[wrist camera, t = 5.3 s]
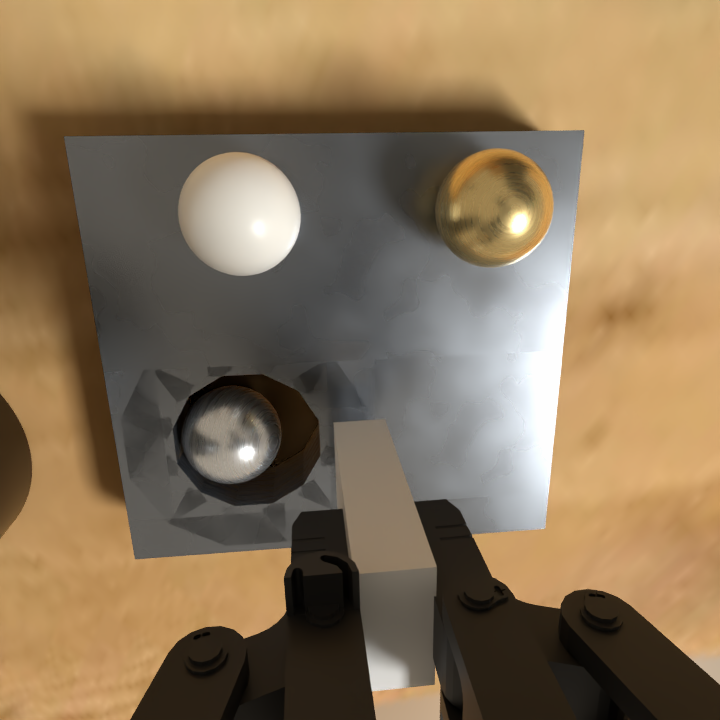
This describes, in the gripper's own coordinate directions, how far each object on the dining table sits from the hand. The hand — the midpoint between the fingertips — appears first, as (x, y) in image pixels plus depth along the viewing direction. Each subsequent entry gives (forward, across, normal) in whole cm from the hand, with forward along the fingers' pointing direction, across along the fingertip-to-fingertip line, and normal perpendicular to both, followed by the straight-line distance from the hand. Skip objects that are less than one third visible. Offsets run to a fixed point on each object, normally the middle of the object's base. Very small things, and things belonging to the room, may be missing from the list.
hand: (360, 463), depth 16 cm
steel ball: (+3, -4, 0) cm, 5 cm away
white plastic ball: (0, -3, +7) cm, 8 cm away
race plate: (+4, 0, +3) cm, 5 cm away
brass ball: (0, +4, +7) cm, 8 cm away
